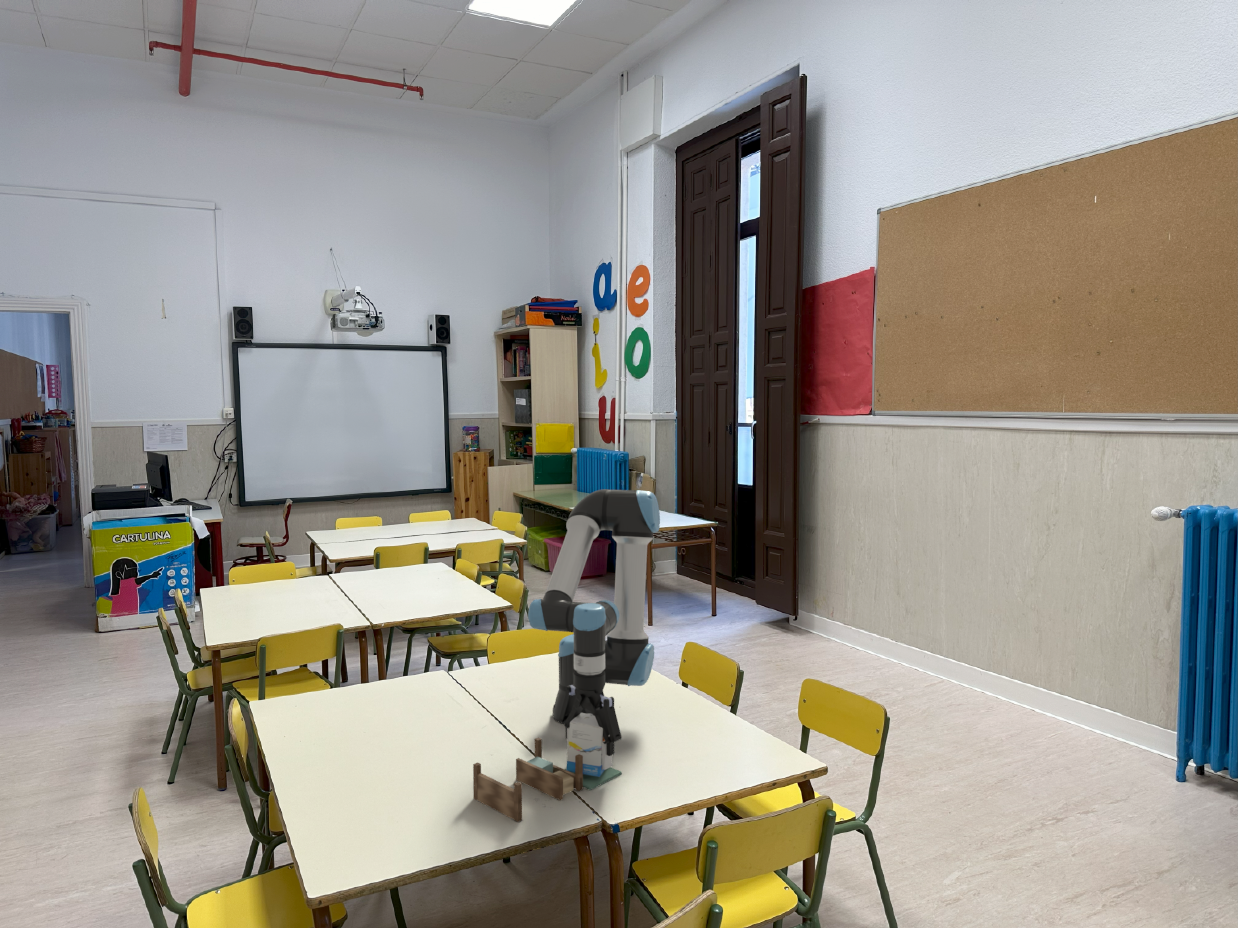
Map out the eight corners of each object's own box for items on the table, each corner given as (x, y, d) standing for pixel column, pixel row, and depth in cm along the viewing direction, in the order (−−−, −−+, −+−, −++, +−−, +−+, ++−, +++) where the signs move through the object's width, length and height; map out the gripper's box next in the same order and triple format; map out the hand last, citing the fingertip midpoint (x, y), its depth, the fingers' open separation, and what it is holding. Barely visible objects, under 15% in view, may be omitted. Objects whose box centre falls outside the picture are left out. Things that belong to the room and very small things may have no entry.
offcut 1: (524, 772, 189) (524, 762, 188) (537, 766, 192) (537, 756, 192) (540, 778, 185) (540, 768, 185) (553, 772, 189) (553, 762, 188)
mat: (556, 775, 191) (556, 772, 191) (588, 760, 200) (588, 757, 200) (589, 790, 184) (589, 787, 184) (621, 773, 192) (621, 771, 192)
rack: (473, 798, 180) (473, 764, 179) (538, 769, 195) (538, 737, 194) (517, 821, 170) (517, 785, 169) (582, 789, 185) (582, 755, 184)
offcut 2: (544, 789, 185) (544, 776, 185) (559, 783, 188) (559, 770, 188) (558, 797, 181) (558, 783, 181) (573, 791, 184) (573, 777, 184)
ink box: (599, 777, 186) (603, 727, 186) (565, 771, 188) (568, 721, 188) (609, 764, 195) (613, 716, 194) (576, 758, 197) (580, 710, 197)
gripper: (544, 663, 195) (544, 750, 197) (615, 685, 180) (615, 780, 181) (566, 655, 201) (566, 741, 202) (637, 677, 185) (636, 769, 187)
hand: (589, 760), depth 192 cm, fingers closed on ink box, 11 cm apart
